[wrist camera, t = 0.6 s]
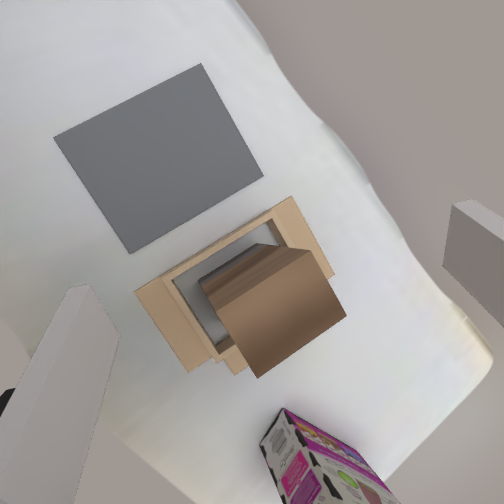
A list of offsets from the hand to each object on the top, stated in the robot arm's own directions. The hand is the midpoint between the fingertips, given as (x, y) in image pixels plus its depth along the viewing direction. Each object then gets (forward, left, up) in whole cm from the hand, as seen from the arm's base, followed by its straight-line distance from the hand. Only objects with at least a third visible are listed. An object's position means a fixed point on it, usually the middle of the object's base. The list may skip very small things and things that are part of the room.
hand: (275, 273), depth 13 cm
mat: (-9, +1, -22) cm, 24 cm away
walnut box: (+5, +1, -22) cm, 23 cm away
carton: (+6, +1, -22) cm, 23 cm away
